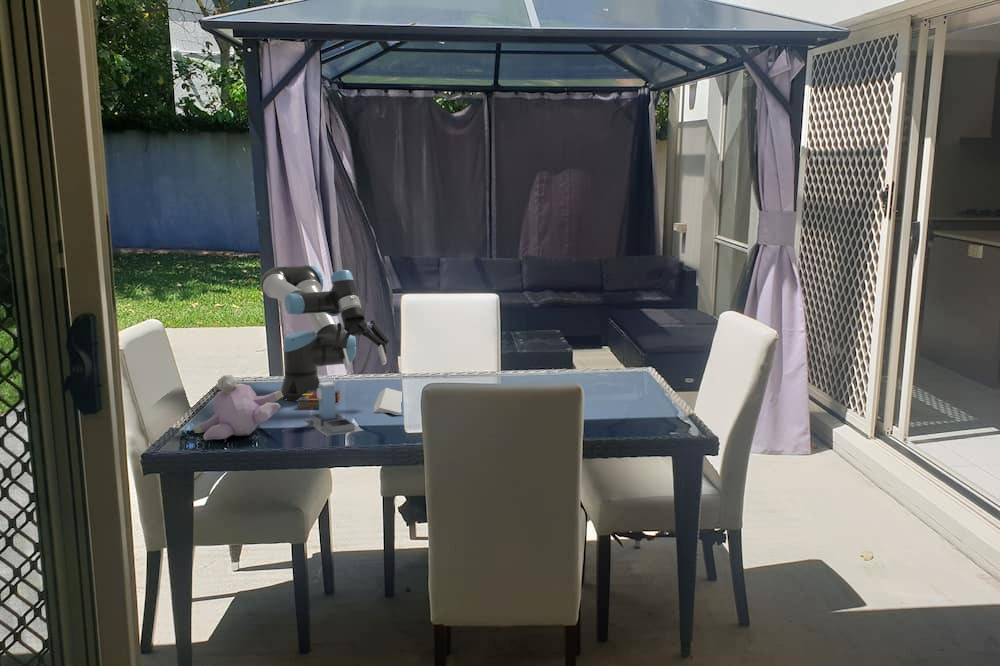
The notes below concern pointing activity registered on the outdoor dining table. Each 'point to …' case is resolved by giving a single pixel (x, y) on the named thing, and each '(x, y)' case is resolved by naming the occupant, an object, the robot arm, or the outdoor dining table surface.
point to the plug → (326, 400)
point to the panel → (333, 425)
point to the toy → (237, 410)
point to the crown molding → (388, 402)
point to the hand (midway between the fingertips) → (366, 365)
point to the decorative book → (312, 400)
